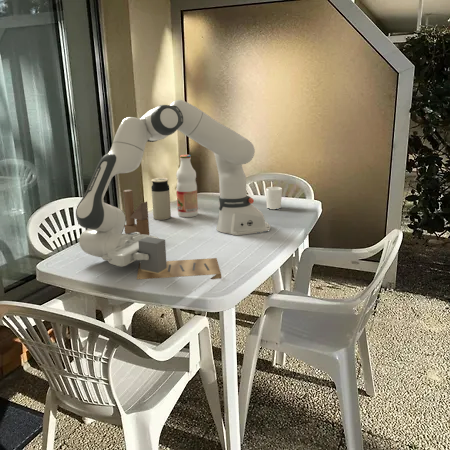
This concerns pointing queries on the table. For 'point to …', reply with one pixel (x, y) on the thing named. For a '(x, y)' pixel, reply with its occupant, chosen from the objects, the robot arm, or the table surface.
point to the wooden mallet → (135, 215)
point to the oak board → (185, 269)
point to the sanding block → (153, 255)
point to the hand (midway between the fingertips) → (154, 253)
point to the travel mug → (161, 199)
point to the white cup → (273, 197)
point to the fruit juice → (186, 188)
